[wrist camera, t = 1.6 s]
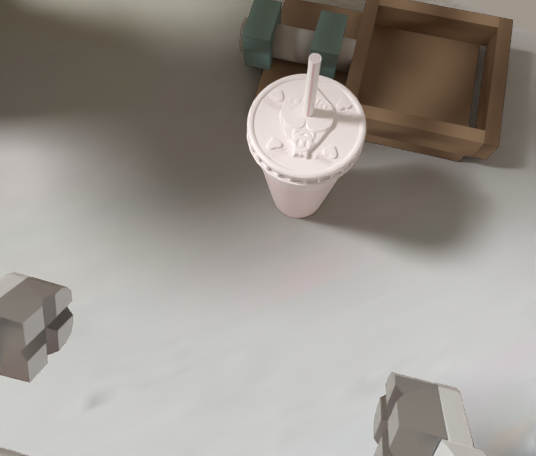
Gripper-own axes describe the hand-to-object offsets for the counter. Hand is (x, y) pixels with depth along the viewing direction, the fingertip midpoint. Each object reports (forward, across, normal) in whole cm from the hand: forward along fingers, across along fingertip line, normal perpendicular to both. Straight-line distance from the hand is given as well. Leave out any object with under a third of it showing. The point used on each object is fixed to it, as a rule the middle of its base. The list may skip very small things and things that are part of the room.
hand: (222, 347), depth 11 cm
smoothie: (+22, 0, +5) cm, 23 cm away
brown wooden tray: (+30, -3, -3) cm, 30 cm away
